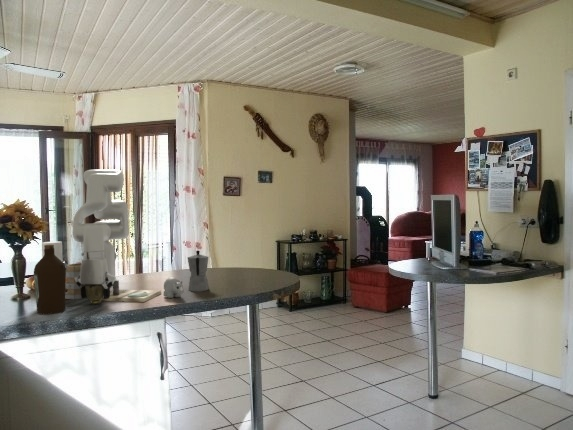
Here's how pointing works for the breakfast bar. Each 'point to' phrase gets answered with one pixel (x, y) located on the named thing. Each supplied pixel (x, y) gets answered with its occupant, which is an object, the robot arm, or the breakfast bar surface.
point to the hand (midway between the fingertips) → (95, 298)
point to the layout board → (130, 294)
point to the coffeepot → (198, 272)
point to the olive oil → (50, 283)
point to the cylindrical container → (56, 249)
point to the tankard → (72, 281)
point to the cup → (95, 293)
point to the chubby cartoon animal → (173, 287)
